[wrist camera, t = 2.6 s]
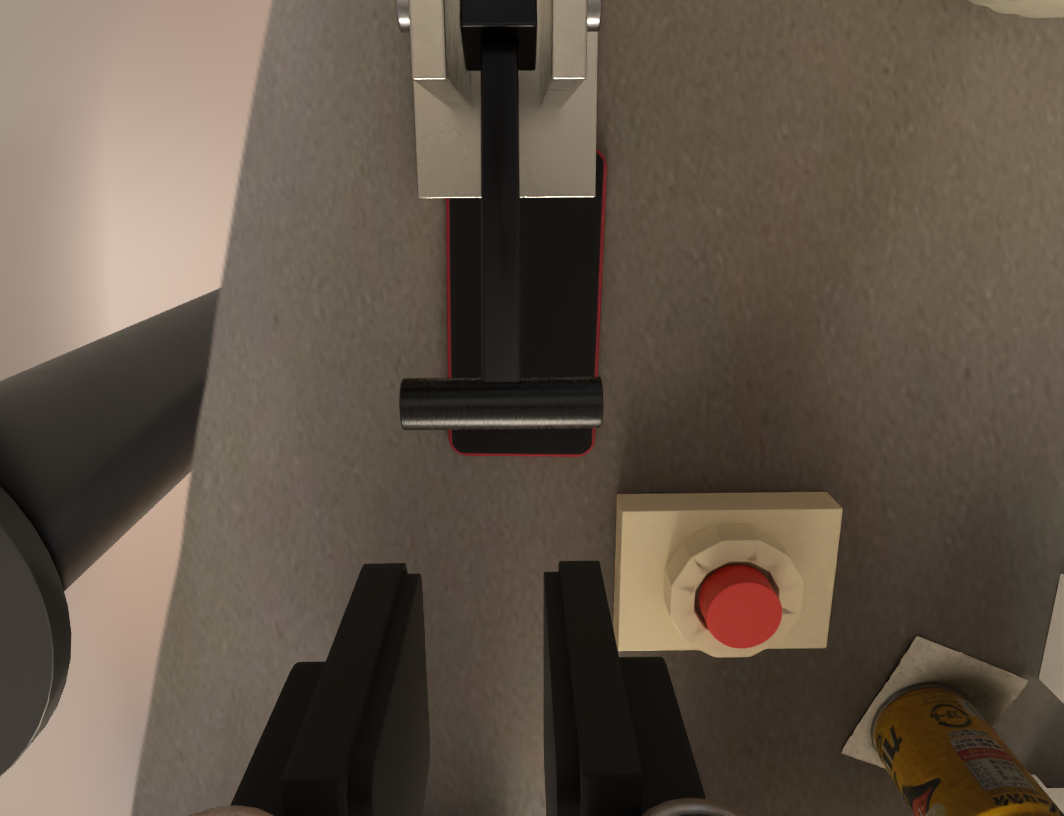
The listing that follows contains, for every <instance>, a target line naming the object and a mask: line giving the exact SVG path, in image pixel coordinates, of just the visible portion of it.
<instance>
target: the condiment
mask: <svg viewBox="0 0 1064 816" xmlns="http://www.w3.org/2000/svg"><path fill="white" fill-rule="evenodd" d="M1027 683H1028V680H1026V679H1023V678H1021V677H1018V676H1016V675H1014V674H1012V673H1010V672H1007V671H1005V670H1002V669H1000V668H997V667H994V666H992V665H990V664H988V663H985V662H983V661H980V660H978V659H975V658H973V657H970V656H968V655H965V654H964V653H962V652H957V651H954V650H951V649H949V648H947V647H944V646H942V645H940V644H937V643H934V642H931V641H929V640H926V639H923V638H921V637H918V636H916V638H915V639H914V641H913V642H912V644H911V646H910V648H909V650H908V651H907V652H906V653H905V655H904V656H903V658H902V659H901V662H900V664H899V665H898V667H897V668H896V669H895V671H894V672H893V674H892V675H891V677H890V679H889V681H888V682H887V683H886V684H885V686H884V687H883V689H882V690H881V691H880V693H879V694H878V695H877V697H876V698H875V699H874V701H873V702H872V704H871V706H870V707H869V709H868V710H867V712H866V714H865V715H864V716H863V718H862V720H861V721H860V723H859V724H858V725H857V727H856V729H855V730H854V733H853V734H852V735H851V736H850V738H849V740H848V741H847V743H846V745H845V746H844V748H843V751H842V754H845V755H848V756H850V757H853V758H856V759H859V760H862V761H865V762H868V763H871V764H874V765H877V766H879V767H882V768H885V769H886V770H887V771H888V773H889V775H890V776H891V778H892V779H893V781H894V783H895V785H896V787H897V788H898V790H899V791H900V793H901V794H902V796H903V799H904V800H905V801H906V803H907V805H908V806H909V807H910V809H911V811H912V812H913V814H914V816H1064V814H1063V813H1062V811H1061V810H1060V809H1059V808H1058V807H1057V805H1056V804H1055V803H1054V802H1053V800H1052V799H1051V798H1050V797H1049V796H1048V794H1047V793H1046V792H1045V791H1044V790H1043V789H1042V787H1041V786H1040V785H1039V784H1038V783H1037V781H1036V780H1035V779H1034V778H1033V777H1032V775H1031V774H1030V773H1029V772H1028V771H1027V769H1026V768H1025V767H1024V766H1023V765H1022V764H1021V762H1020V761H1019V760H1018V759H1017V758H1016V756H1015V755H1014V754H1013V753H1012V752H1011V750H1010V749H1009V748H1008V747H1007V746H1006V744H1005V743H1004V742H1003V741H1002V740H1001V738H1000V737H999V736H998V735H997V734H996V732H995V731H994V729H995V728H996V726H997V724H998V722H999V720H1000V719H1001V718H1002V717H1003V716H1004V713H1005V712H1006V710H1007V709H1008V708H1009V706H1010V705H1011V703H1012V702H1013V701H1014V700H1015V699H1016V698H1017V697H1018V696H1019V695H1020V693H1021V691H1022V690H1023V688H1024V687H1025V685H1026V684H1027Z"/></svg>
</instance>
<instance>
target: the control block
mask: <svg viewBox="0 0 1064 816" xmlns="http://www.w3.org/2000/svg"><path fill="white" fill-rule="evenodd" d="M842 511H843V509H842V508H841V506H840V505H839V504H838V503H837V502H836V501H835V500H834V499H833V498H832V497H831V496H830V495H829V494H828V493H827V492H755V493H668V494H617V515H616V550H615V586H614V621H613V629H614V633H615V638H616V643H617V648H618V651H649V650H701V651H703V652H705V653H707V654H709V655H711V656H713V657H751V656H753V655H755V654H757V653H759V652H761V651H763V650H765V649H788V648H826V646H827V637H828V629H829V621H830V612H831V604H832V595H833V587H834V579H835V570H836V562H837V553H838V545H839V537H840V528H841V520H842ZM730 565H747V566H750V567H753V568H755V569H757V570H759V571H760V572H761V573H763V574H764V576H765V577H766V578H767V579H768V581H769V583H770V584H771V586H772V588H773V589H774V591H775V593H776V594H777V596H778V598H779V600H780V602H781V605H782V619H781V622H780V625H779V627H778V629H777V630H776V632H775V633H774V634H773V635H772V636H771V637H770V638H769V639H768V640H766V641H765V642H763V643H762V644H760V645H757V646H754V647H751V648H743V649H739V648H732V647H728V646H726V645H724V644H722V643H720V642H719V641H717V640H716V639H715V638H714V637H713V636H712V634H711V633H710V631H709V629H708V627H707V624H706V622H705V619H704V617H703V614H702V612H701V609H700V606H699V594H700V590H701V588H702V585H703V584H704V582H705V581H706V579H707V578H708V577H709V576H710V575H711V574H712V573H714V572H715V571H717V570H719V569H721V568H723V567H726V566H730Z"/></svg>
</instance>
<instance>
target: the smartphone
mask: <svg viewBox="0 0 1064 816" xmlns="http://www.w3.org/2000/svg"><path fill="white" fill-rule="evenodd" d="M606 178H607V163H606V159H605V157H604V155H603V154H602V152H600V151H599V150H598V149H596V196H595V197H577V198H520V275H521V373H522V377H598V359H599V336H600V314H601V291H602V268H603V246H604V223H605V201H606ZM446 253H447V337H448V378H481V198H446ZM449 443H450V445H451V447H452V448H453V449H454V450H455V451H456V452H457V453H459V454H462V455H468V456H564V457H577V456H583V455H585V454H587V453H588V452H589V451H590V450H591V449H592V447H593V446H594V443H595V428H561V429H464V430H449Z"/></svg>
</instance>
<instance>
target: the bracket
mask: <svg viewBox="0 0 1064 816" xmlns="http://www.w3.org/2000/svg"><path fill="white" fill-rule="evenodd" d="M601 7H602V0H537V52H536V69H535V70H534V71H518V78H519V176H520V198H577V197H595V196H596V140H597V83H598V31H599V28H600V22H601ZM396 12H397V20H398V26H399V29H400V31H401V32H403V33H410V47H411V69H412V78H413V95H414V117H415V139H416V161H417V183H418V198H481V71H467V70H466V69H465V63H464V55H463V47H462V39H461V31H460V0H396Z"/></svg>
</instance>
